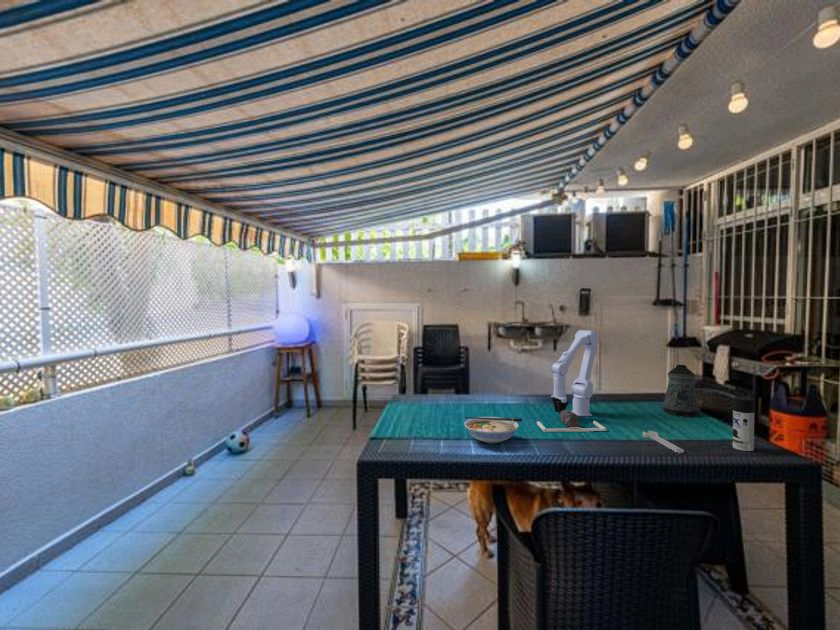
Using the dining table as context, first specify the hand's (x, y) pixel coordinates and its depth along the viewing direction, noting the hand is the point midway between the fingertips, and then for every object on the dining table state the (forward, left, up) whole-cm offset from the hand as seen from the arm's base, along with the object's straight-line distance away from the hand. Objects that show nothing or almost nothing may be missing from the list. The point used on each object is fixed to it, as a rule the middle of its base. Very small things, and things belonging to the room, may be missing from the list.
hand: (559, 413), depth 212 cm
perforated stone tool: (+11, 0, -3) cm, 12 cm away
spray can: (+47, +57, -3) cm, 74 cm away
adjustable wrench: (+38, +30, -3) cm, 48 cm away
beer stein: (-9, +66, -3) cm, 67 cm away
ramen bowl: (+35, -40, -3) cm, 53 cm away
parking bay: (+16, 0, -2) cm, 16 cm away
